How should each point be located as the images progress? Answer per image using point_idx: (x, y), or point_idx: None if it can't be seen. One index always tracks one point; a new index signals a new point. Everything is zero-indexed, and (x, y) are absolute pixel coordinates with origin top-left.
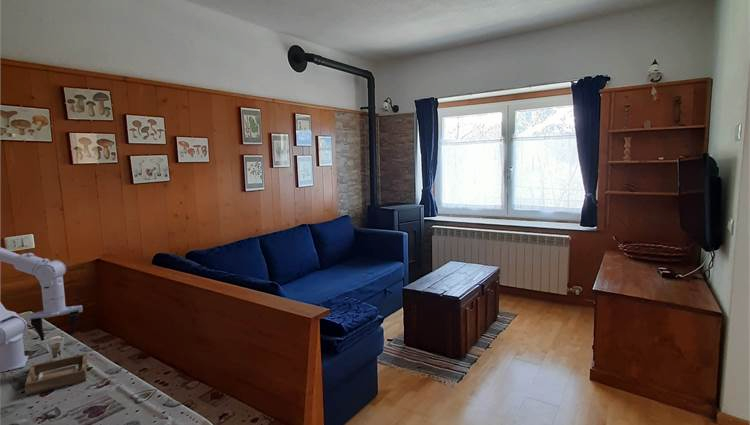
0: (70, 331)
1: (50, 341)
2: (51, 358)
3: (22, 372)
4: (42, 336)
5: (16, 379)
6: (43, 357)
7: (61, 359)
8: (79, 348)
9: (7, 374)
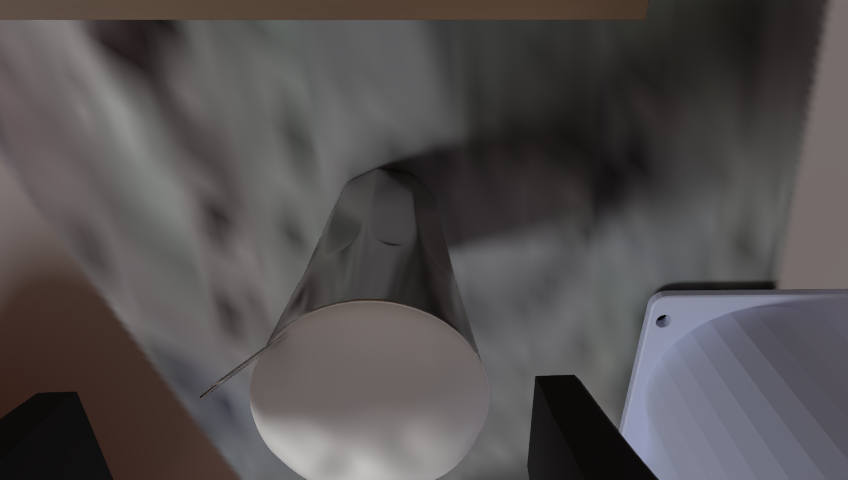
0: (12, 445)
1: (428, 356)
2: (430, 220)
3: (673, 181)
4: (575, 435)
5: (741, 16)
6: (507, 414)
7: (285, 3)
8: (247, 442)
9: (783, 215)
